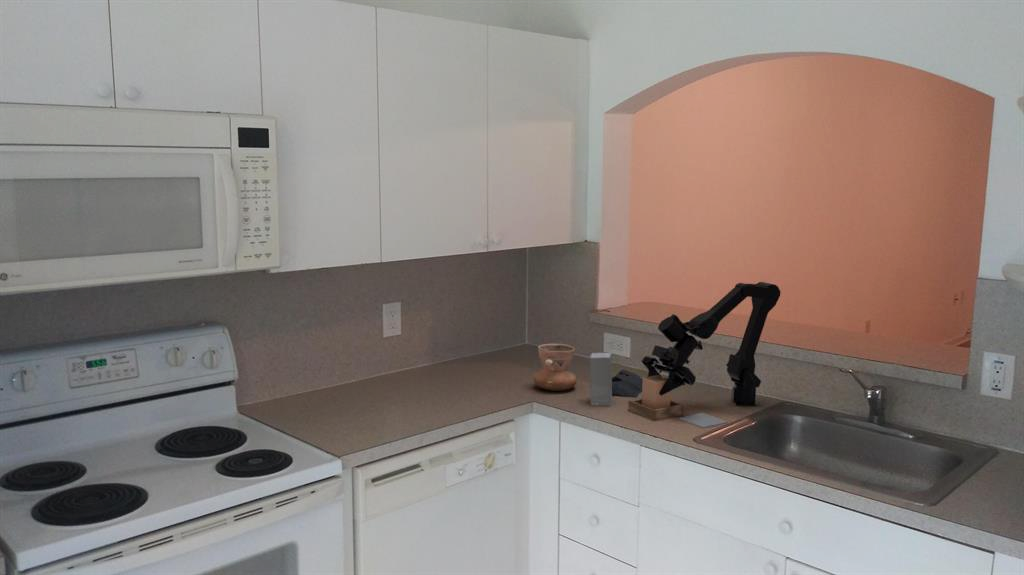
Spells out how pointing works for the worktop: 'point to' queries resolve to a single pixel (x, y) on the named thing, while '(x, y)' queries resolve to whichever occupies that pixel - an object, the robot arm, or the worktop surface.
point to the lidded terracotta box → (655, 392)
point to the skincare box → (601, 379)
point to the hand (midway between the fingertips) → (652, 392)
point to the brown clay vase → (555, 367)
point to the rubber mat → (703, 420)
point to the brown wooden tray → (656, 414)
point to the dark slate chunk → (626, 384)
